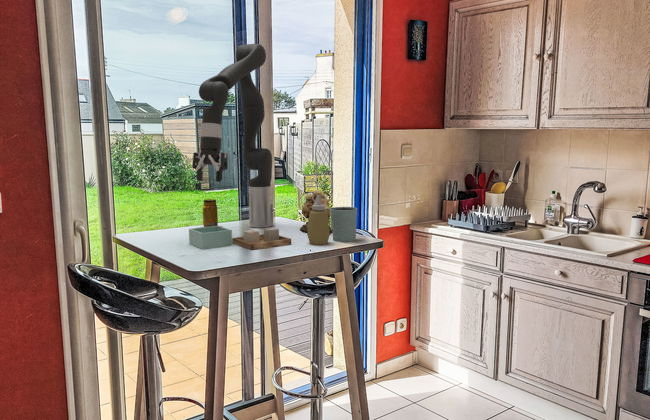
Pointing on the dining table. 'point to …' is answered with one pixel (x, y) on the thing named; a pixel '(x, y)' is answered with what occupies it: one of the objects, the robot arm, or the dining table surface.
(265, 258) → the dining table surface
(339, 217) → the grey green cup
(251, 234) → the beige matte cube
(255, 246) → the walnut tray
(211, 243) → the teal bin
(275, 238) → the grey brown block
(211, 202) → the condiment
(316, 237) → the squeeze bottle
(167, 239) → the dining table surface
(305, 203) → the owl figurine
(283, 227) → the dining table surface
